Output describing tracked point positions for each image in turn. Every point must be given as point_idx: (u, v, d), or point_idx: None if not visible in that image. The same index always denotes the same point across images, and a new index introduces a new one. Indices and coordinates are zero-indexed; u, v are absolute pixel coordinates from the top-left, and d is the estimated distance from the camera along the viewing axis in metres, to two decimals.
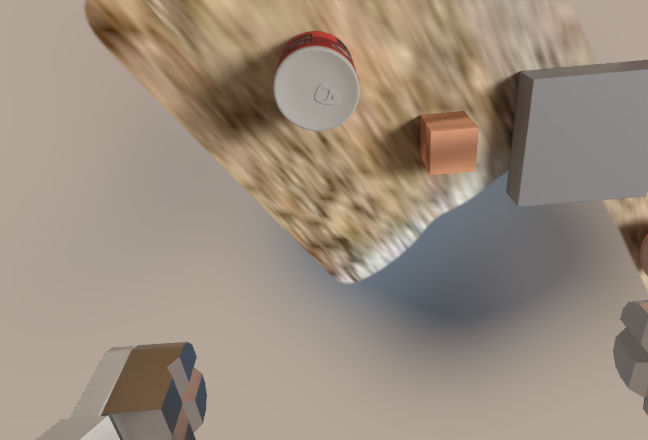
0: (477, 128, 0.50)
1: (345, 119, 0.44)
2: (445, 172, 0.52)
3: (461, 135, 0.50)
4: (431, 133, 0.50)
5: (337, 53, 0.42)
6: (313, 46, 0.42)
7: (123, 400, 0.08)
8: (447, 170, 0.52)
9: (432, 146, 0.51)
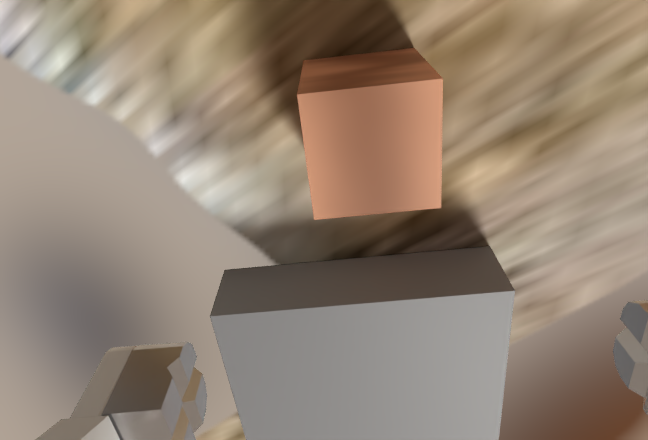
0: (438, 205, 0.19)
1: None
2: (307, 141, 0.17)
3: (421, 168, 0.18)
4: (435, 81, 0.16)
5: None
6: None
7: (123, 400, 0.08)
8: (313, 145, 0.17)
9: (392, 89, 0.16)
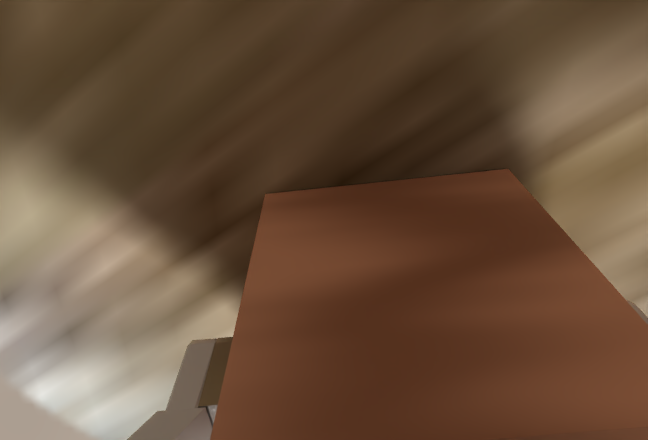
0: None
1: None
2: None
3: None
4: None
5: None
6: None
7: (217, 392, 0.07)
8: None
9: None
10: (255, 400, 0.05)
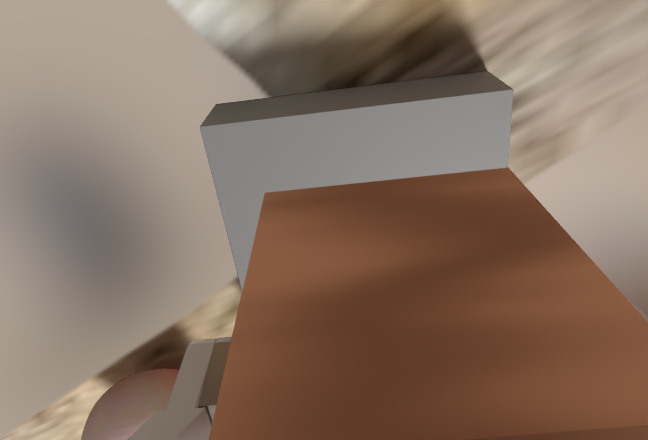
0: None
1: None
2: None
3: None
4: None
5: None
6: None
7: (217, 392, 0.07)
8: None
9: None
10: (254, 398, 0.05)
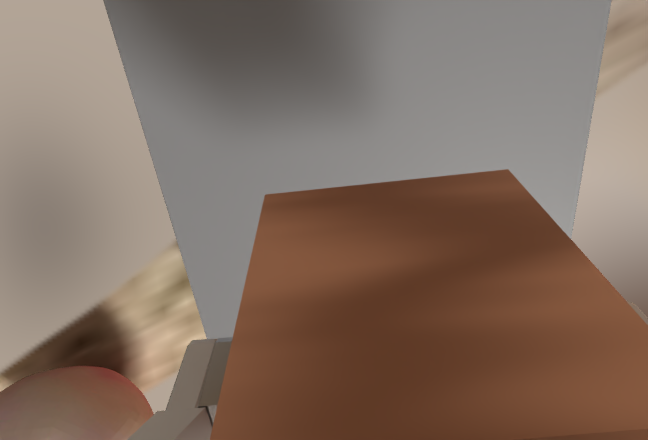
0: None
1: None
2: None
3: None
4: None
5: None
6: None
7: (217, 392, 0.07)
8: None
9: None
10: (254, 402, 0.05)
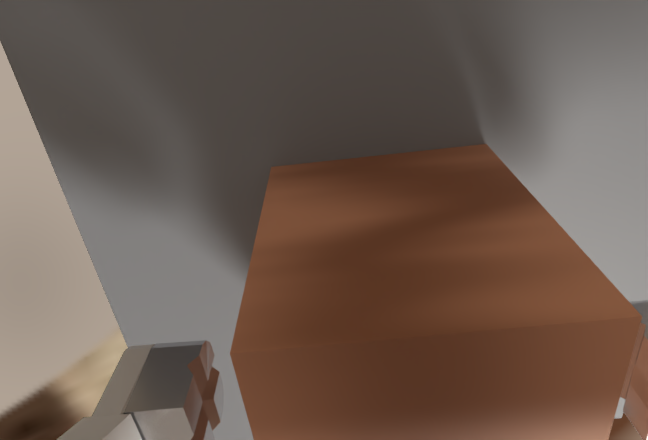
0: None
1: None
2: None
3: None
4: (617, 319, 0.06)
5: None
6: None
7: (145, 398, 0.08)
8: None
9: (496, 340, 0.06)
10: (268, 313, 0.06)
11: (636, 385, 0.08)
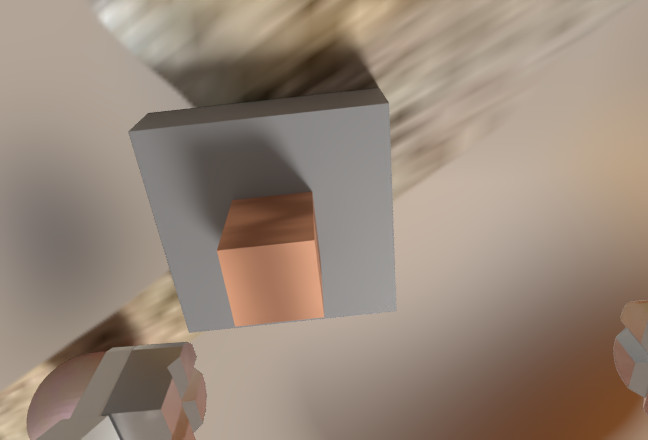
0: (322, 315, 0.26)
1: None
2: (226, 278, 0.25)
3: (307, 293, 0.26)
4: (309, 241, 0.24)
5: None
6: None
7: (123, 400, 0.08)
8: (230, 280, 0.25)
9: (281, 246, 0.24)
10: (226, 242, 0.25)
11: None
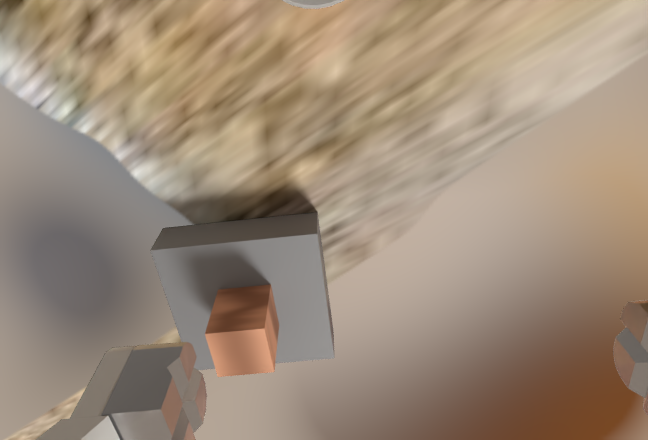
0: (272, 371, 0.41)
1: None
2: (211, 349, 0.40)
3: (262, 358, 0.41)
4: (261, 328, 0.39)
5: None
6: None
7: (123, 400, 0.08)
8: (214, 350, 0.40)
9: (244, 332, 0.39)
10: (211, 327, 0.40)
11: None
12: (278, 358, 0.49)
